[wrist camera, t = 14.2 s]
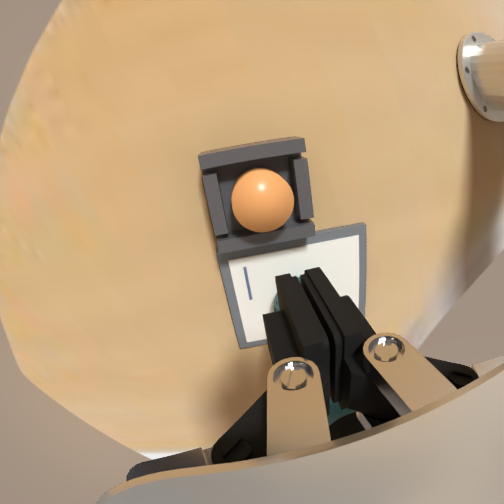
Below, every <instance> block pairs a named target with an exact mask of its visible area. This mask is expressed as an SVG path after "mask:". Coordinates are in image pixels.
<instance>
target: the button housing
mask: <svg viewBox="0 0 504 504" xmlns="http://www.w3.org/2000/svg"><path fill="white" fill-rule="evenodd" d="M301 152H306V147H305V140H304V138H300V137H288V138H280V139H273V140H267V141H260V142H254V143H248V144H242V145H237V146H231V147H226V148H221V149H216V150H211V151H206V152H201V153H200V154H199V155H198V159H199V163H200V168H201V170H203V176H202V178H203V183H204V188H205V192H206V197H207V202H208V206H209V211H210V215H211V220H212V224H213V229H214V233H215V236H217V240H216V242H217V247H218V251H219V254H222V253H228V252H233V251H238V250H243V249H248V248H254V247H259V246H264V245H269V244H275V243H280V242H285V241H290V240H296V239H301V238H306V237H312V236H315V225H314V223H313V222H312V220H311V219H310V218H313V217H314V215H313V205H312V196H311V187H310V179H309V170H308V162H307V158H304V157H302V156H301ZM253 168H267V169H270V170H272V171H274V172H276V173H277V174H278V175H280V176H281V177H282V178H283V179H284V180H285V181H286V182H287V183H288V184H289V186H290V187H291V189H292V192H293V196H294V207H293V211H292V213H291V215H290V217H289V219H288V220H287V221H286V222H285V223H284V224H283V225H282V226H281V227H279V228H277V229H275V230H273V231H269V232H255V231H251V230H249V229H247V228H245V227H244V226H242V225H241V224H240V223H239V221H238V220H237V219H236V217H235V215H234V213H233V209H232V202H231V190H232V187H233V185H234V183H235V181H236V179H237V178H238V177H239V176H240V175H241V174H243V173H244V172H246V171H247V170H250V169H253Z"/></svg>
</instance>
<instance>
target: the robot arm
mask: <svg viewBox="0 0 504 504" xmlns="http://www.w3.org/2000/svg"><path fill="white" fill-rule="evenodd" d="M458 69H459V75H460V79H461V82H462V85H463V88H464V91H465V93H466V95H467V97H468V99H469V101H470V102H471V104H472V105H473V107H474V108H475V109H476V111H477V112H478V113H479V114H480V115H481V116H483V117H484V118H486V119H488V120H490V121H496V122H501V121H504V40H498V41H495V40H494V39H493V38H491V37H490V36H489V35H487V34H485V33H482V32H472V33H469V34H467V35H465V36H464V37H463V39H462V40H461V42H460V45H459V47H458ZM275 282H276V289H277V295H278V302H279V309H280V311H276V312H272V313H267V314H262V315H263V322H264V327H265V332H266V337H267V342H268V347H269V351H270V355H271V359H272V363H273V366H272V367H271V369H270V370H269V372H268V376H267V390H266V391H265V392H264V393H263V394H262V396H261V397H260V398H259V399H258V400H257V401H256V402H255V403H254V404H253V405H252V406H251V407H250V408H249V409H248V410H247V411H246V412H245V414H244V415H243V416H242V417H241V418H240V419H239V420H238V421H237V422H236V423H235V424H234V425H233V426H232V427H231V428H230V429H229V430H228V431H227V432H226V433H225V434H224V435H223V436H222V437H221V438H220V439H218V441H217V442H216V443H215V444H214V446H213V447H211V448H208V449H204V450H202V448H201V447H200V448H197V449H193V450H190V451H186V452H182V453H179V454H175V455H171V456H167V457H163V458H159V459H154V460H150V461H145V462H141V463H139V464H136V465H135V466H134V467H132V468H131V469H130V471H129V472H128V474H127V478H126V479H127V480H126V482H124V483H121V484H119V485H117V486H115V487H113V488H111V489H109V490H108V491H106V492H105V493H104V494H103V495H102V496H101V497H100V498H99V500H98V501H97V502H96V504H504V355H503V356H500V357H497V358H494V359H491V360H487V361H484V362H481V363H477V364H473V365H472V368H470V367H468V366H465V365H461V364H456V363H451V362H447V361H442V360H437V359H433V358H429V357H424V356H423V355H421V354H420V353H419V352H418V351H417V350H416V349H415V348H414V347H413V346H412V345H411V344H410V343H409V342H408V341H407V340H406V339H404V338H403V337H401V336H400V335H397V334H394V333H379V334H376V333H375V331H374V330H373V329H372V327H371V326H370V324H369V323H368V322H367V320H366V319H365V317H364V316H363V315H362V313H361V312H360V310H359V309H358V308H357V306H356V305H355V303H354V302H353V301H352V299H351V298H350V297H349V296H348V295H345V296H341V297H340V295H339V294H338V292H337V291H336V290H335V288H334V287H333V285H332V284H331V282H330V281H329V280H328V278H327V277H326V275H325V274H324V272H323V271H322V270H321V268H320V267H316V268H312V269H307V270H305V271H304V274H302V275H300V282H299V280H298V278H297V276H293V277H292V276H291V274H290V273H288V274H283V275H279V276H275ZM330 397H331V400H332V402H333V403H336V402H338V403H339V406H340V408H341V410H342V409H346V408H348V409H351V410H354V411H356V415H357V417H358V419H359V421H360V422H361V424H362V425H363V427H364V428H365V430H364V431H361V432H358V433H355V434H352V435H349V436H346V437H343V438H340V439H336V440H333V441H331V438H330V431H329V425H328V419H327V417H328V415H329V412H330Z"/></svg>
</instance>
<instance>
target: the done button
mask: <svg viewBox="0 0 504 504" xmlns="http://www.w3.org/2000/svg"><path fill="white" fill-rule="evenodd" d="M231 202H232V209H233V213H234V215H235V217H236V219H237V220H238V221H239V223H240V224H241V225H242V226H244V227H245V228H247V229H249V230H251V231H255V232H269V231H273V230H275V229H277V228H279V227H281V226H282V225H283V224H284V223H285V222H286V221H287V220H288V219H289V217H290V215H291V213H292V211H293V207H294V196H293V192H292V189H291V187H290V186H289V184H288V183H287V182H286V181H285V180H284V179H283V178H282V177H281V176H280V175H278V174H277V173H276V172H274V171H272V170H270V169H267V168H253V169H250V170H247V171H246V172H244V173H243V174H241V175H240V176H239V177H238V178H237V179H236V181H235V183H234V185H233V187H232V190H231Z"/></svg>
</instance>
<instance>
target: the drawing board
mask: <svg viewBox="0 0 504 504" xmlns="http://www.w3.org/2000/svg"><path fill="white" fill-rule="evenodd" d="M216 253H217V258H218V262H219V266H220V270H221V274H222V279H223V283H224V287H225V291H226V295H227V299H228V303H229V307H230V311H231V315H232V319H233V323H234V327H235V331H236V335H237V339H238V342H239V346H240V349H242V348H248V347H253V346H259V345H264V344H268V342H267V337H266V332H265V327H264V322H263V315H262V314H267V313H272V312H274V307H272V305H273V304H274V298H275V296H276V294H277V289H276V282H275V276H279V275H283V274H288V273H290V274H291V276H292V277H293V276H297V277H300V275H302V274H304V271H305V270H307V269H312V268H316V267H320V268H321V270H322V271H323V272H324V274H325V275H326V277H327V278H328V280H329V281H330V282H331V284H332V285H333V287H334V288H335V290H336V291H337V292H338V294H339V295H340V297H341V296H345V295H348V296H349V297H350V298H351V299H352V301H353V302H354V303H355V305H356V306H357V308H358V309H359V310H360V312H361V313H362V315H363V316H364V317H365V300H366V224H364V223H363V222H362V223H357V224H352V225H346V226H341V227H335V228H330V229H324V230H319V231H315V236H312V237H306V238H301V239H296V240H290V241H285V242H280V243H275V244H269V245H264V246H259V247H254V248H248V249H243V250H238V251H233V252H228V253H222V254H219V251H218V250H217V251H216Z"/></svg>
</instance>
